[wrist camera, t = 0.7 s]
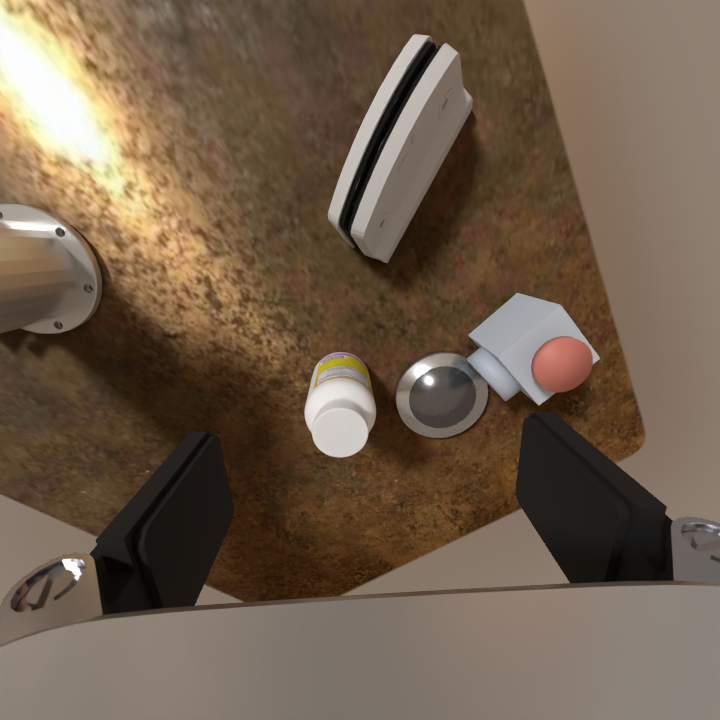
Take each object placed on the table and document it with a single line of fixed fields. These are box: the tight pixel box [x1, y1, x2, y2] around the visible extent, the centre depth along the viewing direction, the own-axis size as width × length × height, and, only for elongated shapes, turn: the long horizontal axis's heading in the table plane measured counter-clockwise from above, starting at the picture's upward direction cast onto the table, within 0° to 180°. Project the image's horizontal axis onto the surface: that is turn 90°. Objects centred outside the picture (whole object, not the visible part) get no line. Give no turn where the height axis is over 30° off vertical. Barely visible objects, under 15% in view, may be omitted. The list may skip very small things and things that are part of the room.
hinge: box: [328, 34, 473, 263], centre depth 30 cm, size 17×5×10 cm, turn 151°
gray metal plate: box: [395, 351, 488, 438], centre depth 41 cm, size 11×11×1 cm
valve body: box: [467, 293, 600, 405], centre depth 35 cm, size 9×7×10 cm
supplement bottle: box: [305, 352, 376, 457], centre depth 34 cm, size 7×7×13 cm
